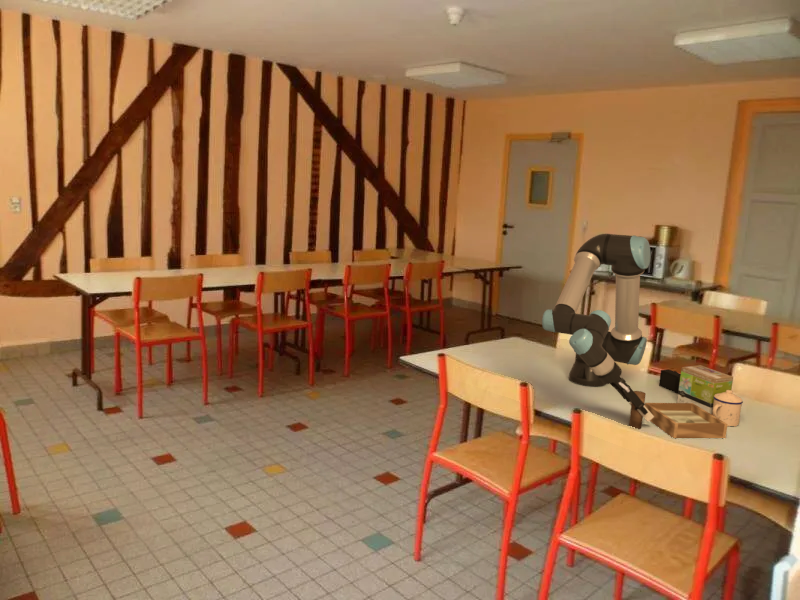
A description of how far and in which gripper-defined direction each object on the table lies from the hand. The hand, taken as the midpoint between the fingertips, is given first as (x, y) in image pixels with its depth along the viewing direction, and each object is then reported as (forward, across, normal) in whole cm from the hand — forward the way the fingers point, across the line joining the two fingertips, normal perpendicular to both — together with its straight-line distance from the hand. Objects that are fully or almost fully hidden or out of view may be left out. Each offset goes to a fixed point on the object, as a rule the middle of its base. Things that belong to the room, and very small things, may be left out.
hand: (647, 416), depth 210 cm
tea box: (+25, -18, +19) cm, 36 cm away
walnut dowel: (0, 0, -5) cm, 5 cm away
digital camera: (+26, -41, +20) cm, 52 cm away
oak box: (+12, 0, +7) cm, 14 cm away
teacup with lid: (+24, -4, +19) cm, 31 cm away
